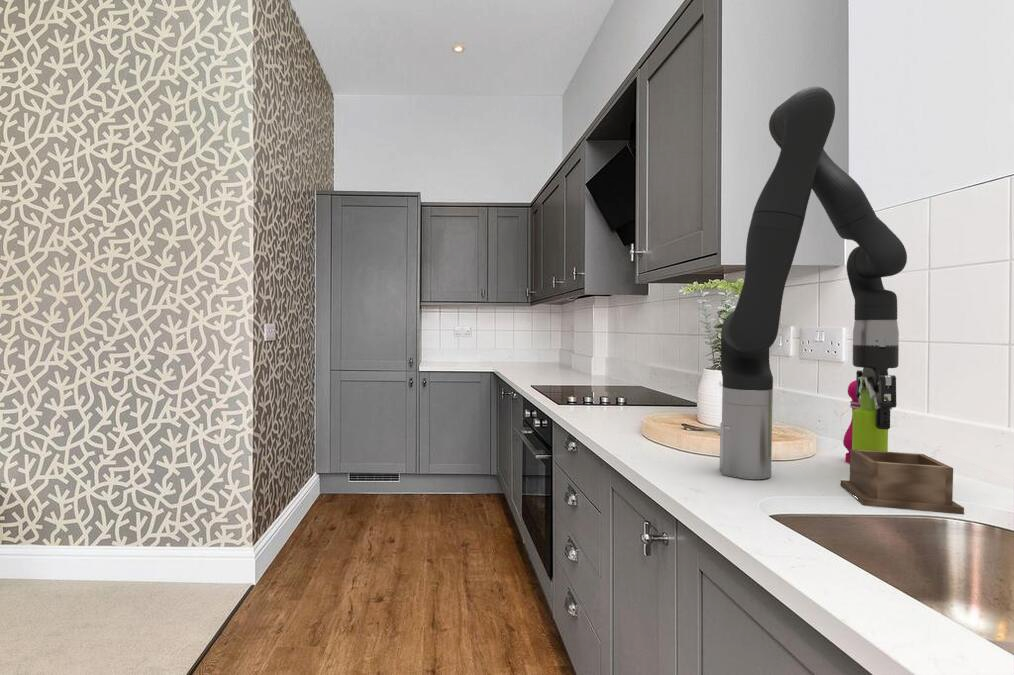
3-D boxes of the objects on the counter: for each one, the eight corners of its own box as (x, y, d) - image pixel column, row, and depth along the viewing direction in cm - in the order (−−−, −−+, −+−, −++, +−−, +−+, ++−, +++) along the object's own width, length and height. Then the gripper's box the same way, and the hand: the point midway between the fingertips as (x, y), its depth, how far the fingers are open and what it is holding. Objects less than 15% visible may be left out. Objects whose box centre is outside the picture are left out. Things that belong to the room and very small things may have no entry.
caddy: (863, 505, 90) (864, 462, 90) (840, 485, 102) (841, 448, 102) (963, 514, 86) (965, 469, 86) (928, 492, 98) (929, 453, 98)
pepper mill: (851, 466, 116) (853, 373, 116) (837, 458, 123) (839, 370, 123) (889, 468, 115) (891, 373, 115) (872, 460, 122) (874, 371, 122)
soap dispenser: (898, 482, 105) (901, 378, 104) (858, 479, 106) (861, 376, 106) (884, 474, 110) (886, 375, 110) (846, 471, 112) (848, 374, 112)
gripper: (842, 342, 116) (842, 418, 116) (866, 344, 102) (865, 430, 102) (883, 342, 114) (882, 420, 114) (913, 344, 100) (912, 432, 100)
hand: (874, 425), depth 108 cm, fingers open, 8 cm apart
